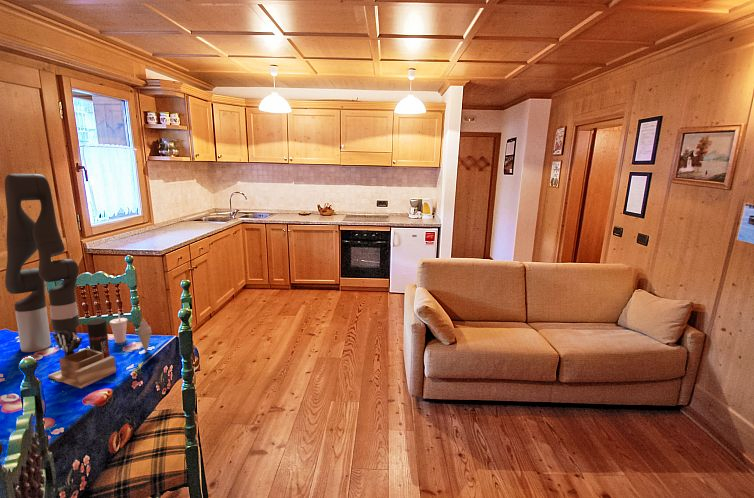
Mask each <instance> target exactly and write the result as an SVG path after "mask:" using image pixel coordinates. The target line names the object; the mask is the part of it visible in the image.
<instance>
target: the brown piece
mask: <svg viewBox="0 0 754 498" xmlns="http://www.w3.org/2000/svg"><path fill="white" fill-rule="evenodd" d="M115 373H117V368H116V357H115V356H113V355H110V356H109V357H107V358H105V359H102V360H100V361H98V362H95V363H93V364H90V365H88V366H86V367H83V368H81V369H79V370H76V371H75V376H76V380H73V379H70V378H67V377H64V376H62V374H61V369H59V370H57V371H55V372H52V373H50V374H48V378H49V379H52V380H55V381H58V382H61V383H64V384H67V385H70V386H72V387H75V388H79V389H84V387H88V386H89V385H91V384H94V383H95V382H98V381H100V380H102V379H104V378H107V377H109V376H111V375H113V374H115Z"/></svg>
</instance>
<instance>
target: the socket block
mask: <svg viewBox="0 0 754 498" xmlns="http://www.w3.org/2000/svg"><path fill="white" fill-rule="evenodd" d="M102 359H104V353H102V352H98V351H95V350H92V349H90V348H88V347H86V348H83V349H81V350H79V351H76V352H74V353H73V354H70V355H68V356H65V355H64V356H63V357H59V366H60V370H61V374H62V376H64V377H67V378H70V379H73V380H76V376H75V371H76V370H79V369H81V368H83V367H86V366H88V365H90V364H93V363H95V362H98V361H100V360H102Z"/></svg>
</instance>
